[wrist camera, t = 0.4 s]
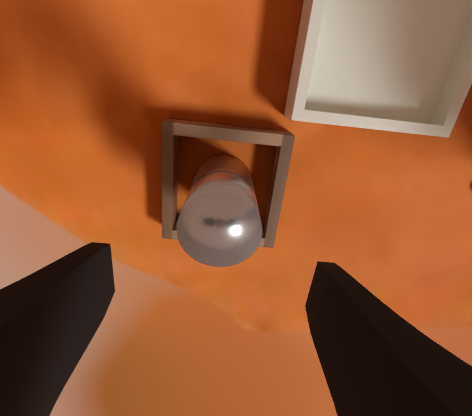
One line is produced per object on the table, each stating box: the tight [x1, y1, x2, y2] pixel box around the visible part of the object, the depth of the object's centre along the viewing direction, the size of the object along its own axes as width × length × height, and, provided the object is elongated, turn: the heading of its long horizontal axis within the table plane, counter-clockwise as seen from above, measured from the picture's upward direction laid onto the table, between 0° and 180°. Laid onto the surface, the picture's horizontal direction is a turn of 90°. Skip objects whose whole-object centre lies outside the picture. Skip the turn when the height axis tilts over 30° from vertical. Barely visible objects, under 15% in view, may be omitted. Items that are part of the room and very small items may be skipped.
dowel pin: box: [177, 155, 262, 267], centre depth 16 cm, size 4×4×7 cm
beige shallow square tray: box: [284, 0, 472, 138], centre depth 14 cm, size 9×9×2 cm
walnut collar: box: [161, 118, 295, 248], centre depth 18 cm, size 8×8×2 cm
